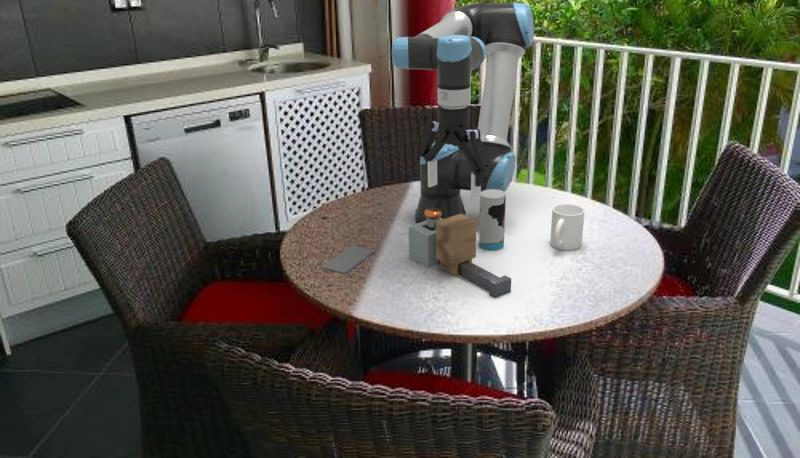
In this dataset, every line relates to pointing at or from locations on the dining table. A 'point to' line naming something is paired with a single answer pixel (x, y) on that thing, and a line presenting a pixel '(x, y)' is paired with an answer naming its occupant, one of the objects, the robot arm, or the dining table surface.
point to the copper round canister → (432, 217)
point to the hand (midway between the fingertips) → (453, 191)
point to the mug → (567, 226)
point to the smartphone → (348, 259)
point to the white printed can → (492, 219)
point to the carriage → (455, 241)
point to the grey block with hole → (422, 244)
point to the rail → (484, 279)
